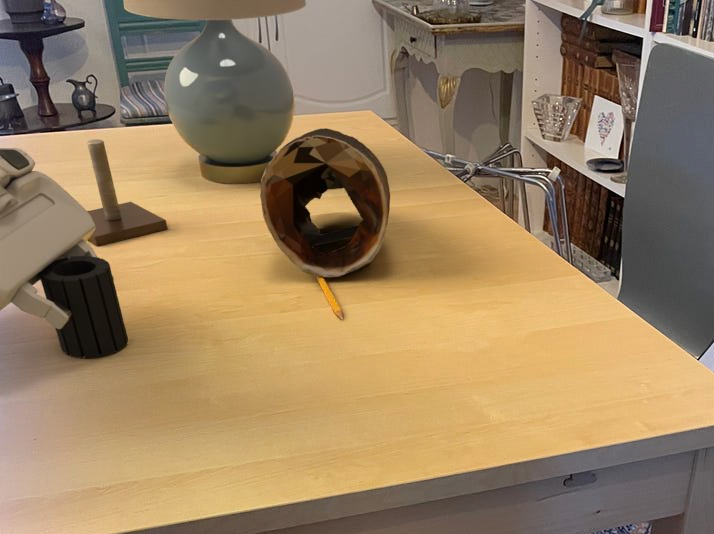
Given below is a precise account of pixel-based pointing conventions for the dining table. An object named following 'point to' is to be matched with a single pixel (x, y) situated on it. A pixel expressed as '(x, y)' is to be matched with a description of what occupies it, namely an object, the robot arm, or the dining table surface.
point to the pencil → (330, 296)
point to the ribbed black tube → (86, 306)
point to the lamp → (226, 87)
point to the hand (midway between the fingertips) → (88, 303)
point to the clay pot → (310, 180)
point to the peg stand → (116, 206)
